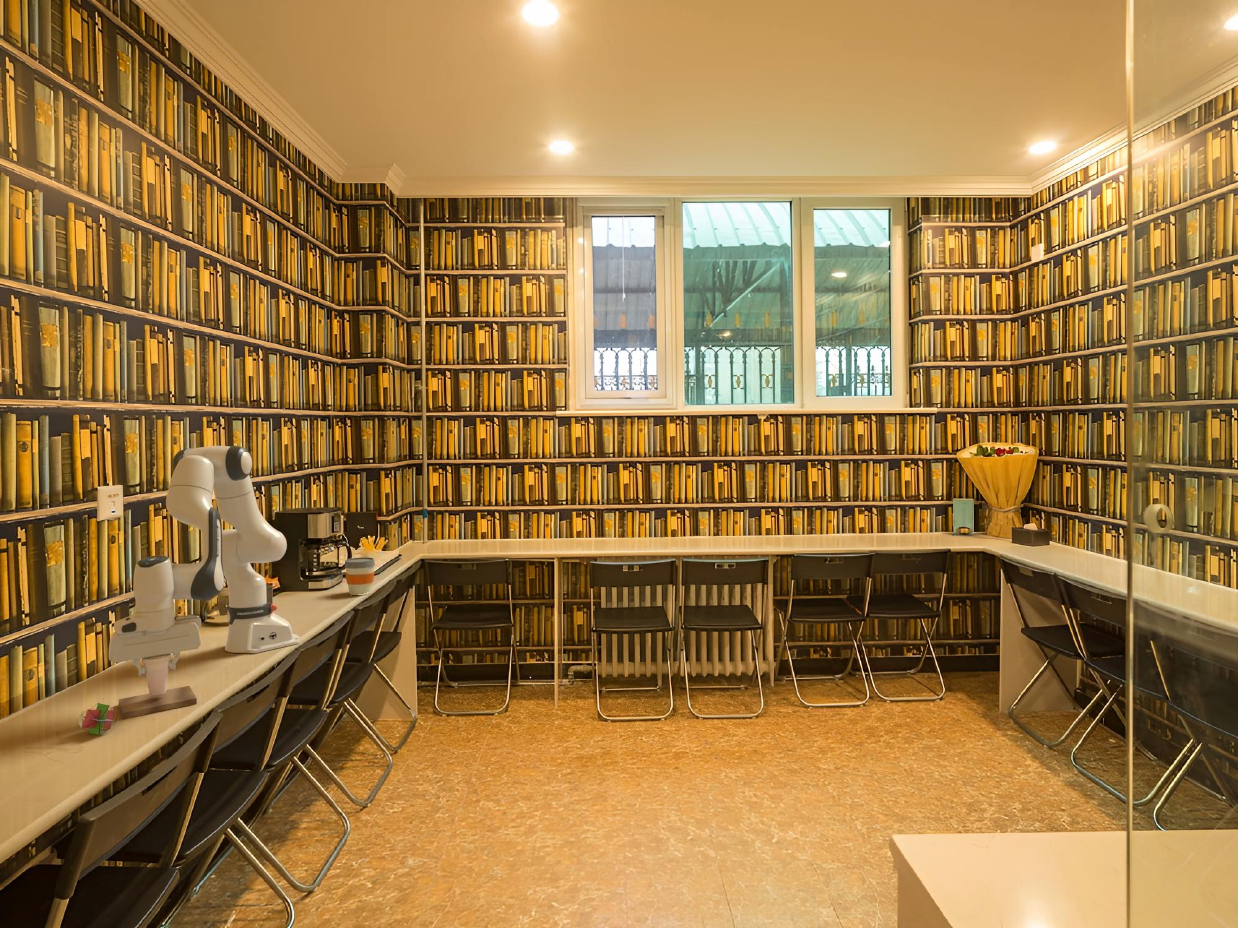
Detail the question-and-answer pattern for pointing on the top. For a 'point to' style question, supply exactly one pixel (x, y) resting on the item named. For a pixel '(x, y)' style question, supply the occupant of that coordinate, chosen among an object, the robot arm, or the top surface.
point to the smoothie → (157, 673)
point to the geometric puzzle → (97, 719)
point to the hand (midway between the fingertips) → (157, 671)
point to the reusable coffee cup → (359, 574)
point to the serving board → (156, 702)
